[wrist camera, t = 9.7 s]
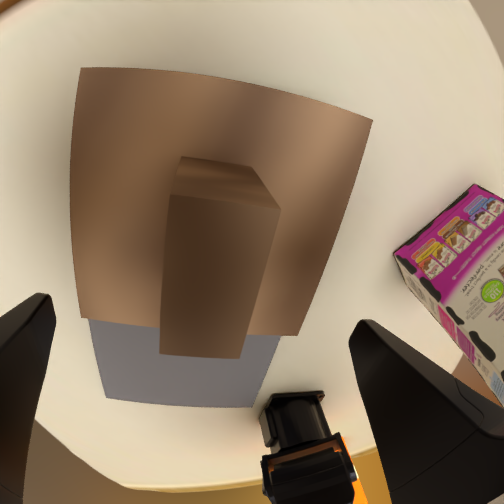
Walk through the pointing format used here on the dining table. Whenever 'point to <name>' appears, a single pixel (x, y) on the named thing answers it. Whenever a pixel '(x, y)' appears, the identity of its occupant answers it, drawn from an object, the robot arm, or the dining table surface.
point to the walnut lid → (205, 204)
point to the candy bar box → (464, 278)
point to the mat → (176, 369)
